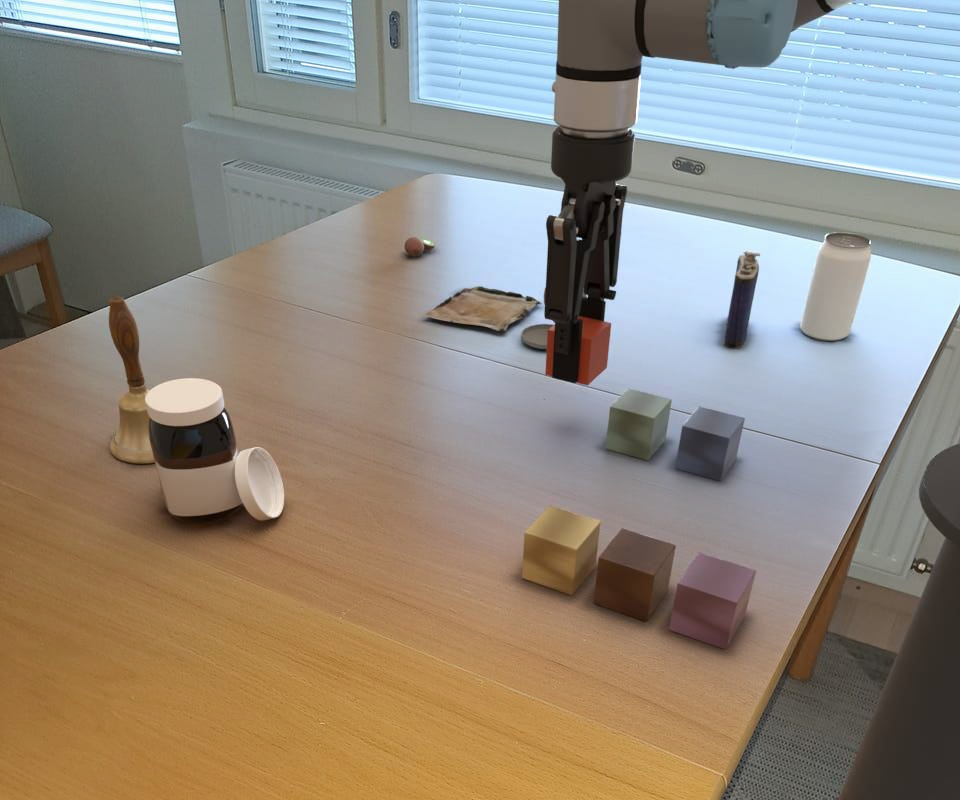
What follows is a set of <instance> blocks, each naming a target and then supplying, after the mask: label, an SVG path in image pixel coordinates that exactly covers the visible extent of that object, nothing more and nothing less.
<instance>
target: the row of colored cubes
mask: <svg viewBox="0 0 960 800" xmlns="http://www.w3.org/2000/svg"><path fill="white" fill-rule="evenodd" d="M600 530H601V520H598V519H595V518H592V517H589V516H586V515H582V514H579V513H576V512H573V511H570V510H567V509H564V508H560V507H557V506H554V505H549V506H548V507H547V508H546V509H545V510H544V511H543V512H542V513H541V514H540V515H539V517H537V519H535V521H534V522H533V523H532V524H531V525H530V526H529V527H528V528H527V529H526V530H525V531H524V535H523V538H524V539H523V552H522V553H523V555H522V570H521V571H522V572H521V573H522V575H521V579H523V580H527V581H529V582H531V583H535V584H537V585H540V586H542V587H543V586H544V587H546V588H549V589H552V590H555V591H558V592H560V593H564V594H565V595H569V596H573V595H574V594H575V593H576V592H577V590H578V589H579V587H580V586H581V585H582V584H583V583H584V581H586V579H587V578H588V577H589V575H590V574H591V573H592V572H593V570H594V569H595V568H596V566H597V569H596V576H595V586H594V594H593V604H595V605H598V606H601V607H604V608H606V609H609V610H612V611H614V612H617V613H620V614H623V615H626V616H628V617H629V616H630V617H631V618H635V619H638V620H640V621H644V622H647V621H648V620H649V619H650V618H651V616H652V614H653V613H654V612H655V610H656V609H657V607H658V606H659V604H660V603H661V602H662V600H663V598H664V597H665V595H666V594H667V592H668V591H669V586H670V580H671V574H672V569H673V564H674V558H675V553H676V548H677V547H676V546H677V545H676V544H674V543H671V542H667V541H664V540H661V539H658V538H655V537H652V536H649V535H646V534H643V533H639V532H637V531H633V530H630V529H627V528H621V529H620V530H619V531H618V532H617V534H616V535H615V536H614V538H613V539H611V541H610V543H608V545H606V547H605V548H604V550H603V551H602V552H601V553H600V555H599V556H598V550H599V549H598V548H599V539H600V532H601V531H600ZM597 557H598V559H597ZM756 573H757V570H756V569H754V568H751V567H747V566H744V565H741V564H737V563H734V562H732V561H729V560H726V559H722V558H719V557H716V556H712V555H710V554H706V553H703V552H697V554H696V556H695V557H694V559H692V561H691V562H690V564H689V565H688V567H687V569H686V570H685V572H684V573H683V575H682V576H681V577H680V579H679V580H678V582H677V583H676V584H677V585H676V591H675V596H674V599H673V607H672V610H671V617H670V621H669V628H668V630H669V631H672V632H674V633H676V634H677V633H678V634H680V635H683V636H686V637H689V638H692V639H694V640H696V641H699V642H702V643H706V644H708V645H711V646H714V647H717V648H718V649H719V648H720V649H723V650H727V648H728V647H729V645H730V643H731V641H732V640H733V638H734V635H735V634H736V633H737V631H738V629H739V627H740V626H741V624H742V622H743V620H744V619H745V617H746V612H747V609H748V604H749V600H750V598H751V597H750V596H751V593H752V589H753V585H754V581H755V577H756V575H757V574H756Z"/></svg>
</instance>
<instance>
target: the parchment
mask: <svg viewBox="0 0 960 800" xmlns="http://www.w3.org/2000/svg"><path fill="white" fill-rule="evenodd" d="M538 305H543V302H541V301H538V300H537V299H536V298H534V297H532V296H529V295H526V296H523V294H521V293H517V292H513V291H504V290H500V289H496V288H487V287H484V286H482V285H481V286H479V285H478V286H475V287H472V288H465V287H464V288H463V289H462V290H461V291H458V292H457V293H455V294H454V295H453V296H449V297H448V298H447V299H445V300H443V302H441V303H439V304H438V305H437V306H436V307H434V308H433V309H431V310H429V311H428V312H426V313H425V314H424V315H423V316H424V317H428V318H431V319H435V320H439V321H445V322H450V323H456V324H463V325H472V326H481V327H486V328H489V329H491V330H494V331H497V332H501V331H504V332H507V330H508V327H509V325H511V324H513V323H514V322H516V321H518V320H521V319H523V318H526V317H527V313H530V312H531V311H532V310H533V308H535V307H536V306H538Z"/></svg>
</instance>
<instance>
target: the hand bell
mask: <svg viewBox="0 0 960 800" xmlns="http://www.w3.org/2000/svg"><path fill="white" fill-rule="evenodd" d="M108 311H109V312H108V328H109V332H110V337H111V339H112V342H113V344H114V347H115V349H116V351H117V353H119V355H120V357H121V360H122V362H123V366H124V371H125V376H126V382H127V385H128V390H129V391H128V392H126V393H124V394H122V395H121V396H120V397H119V399H118V403H117V404H118V411H119V423H118V429H117V431H116V433H115V434H114V435H113V437H112V438H111V441H110V443H109V451H110V453H111V454H112V455H113V457H115V458H116V459H118V460H120V461H123V462H125V463H129V464H130V463H131V464H140V465H141V464H142V465H143V464H155V461H154V457H153V452H150V453H130V452H126V451H123V450H120V449H119V448H117V447H116V446H115V444H114V442H113V440H114V437H115V441H116V442H117V443H118V444H119V445H120V446H122V447H125V448H128V449H131V450H134V451H135V450H136V451H137V450H138V451H145V450H146V451H149V450H152V448H151V444H150V438H149V430H148V424H149V418H150V417H149V414H148V411H147V407H146V403H145V397H146V394H147V393H148V392H149V391H150V390H151V389H148V388H147V385H146V380H145V377H144V372H143V370H142V366H141V362H140V334H139V329H138V326H137V322H136V319H135V317H134V315H133V313H132V312H131V309H129V307H128V305H127V303H126V300H125V299H124V297H123V296H118V295H116V296H112V297H110V298H109V310H108ZM115 435H116V436H115Z"/></svg>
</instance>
